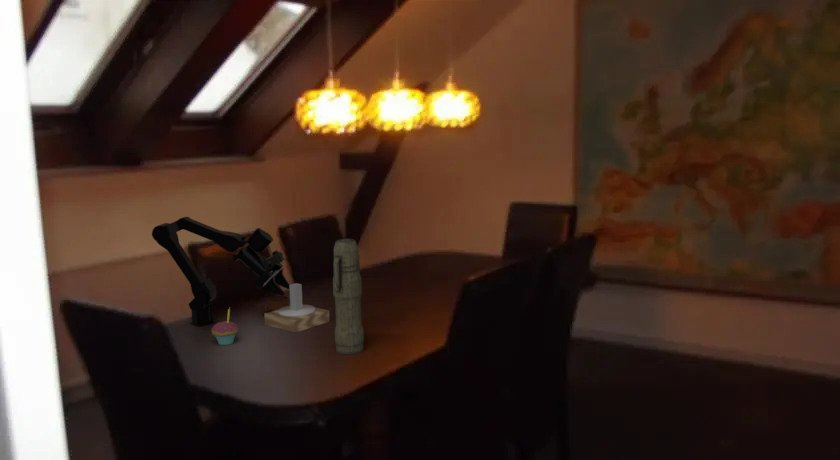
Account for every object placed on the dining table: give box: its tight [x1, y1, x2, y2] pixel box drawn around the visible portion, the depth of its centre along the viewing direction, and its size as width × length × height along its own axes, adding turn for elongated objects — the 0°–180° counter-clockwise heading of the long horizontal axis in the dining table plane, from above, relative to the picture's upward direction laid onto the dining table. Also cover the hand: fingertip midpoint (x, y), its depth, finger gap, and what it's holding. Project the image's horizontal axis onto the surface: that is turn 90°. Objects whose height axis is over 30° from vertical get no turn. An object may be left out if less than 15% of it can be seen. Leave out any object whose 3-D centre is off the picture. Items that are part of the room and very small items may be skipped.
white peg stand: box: [278, 282, 316, 317], centre depth 261 cm, size 13×13×10 cm
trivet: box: [263, 307, 330, 333], centre depth 262 cm, size 16×16×4 cm
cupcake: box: [211, 307, 240, 346], centre depth 241 cm, size 9×8×12 cm
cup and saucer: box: [261, 295, 289, 315], centre depth 275 cm, size 12×12×6 cm
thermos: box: [332, 238, 365, 355], centre depth 230 cm, size 9×12×35 cm
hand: (286, 291), depth 261 cm, fingers open, 9 cm apart
